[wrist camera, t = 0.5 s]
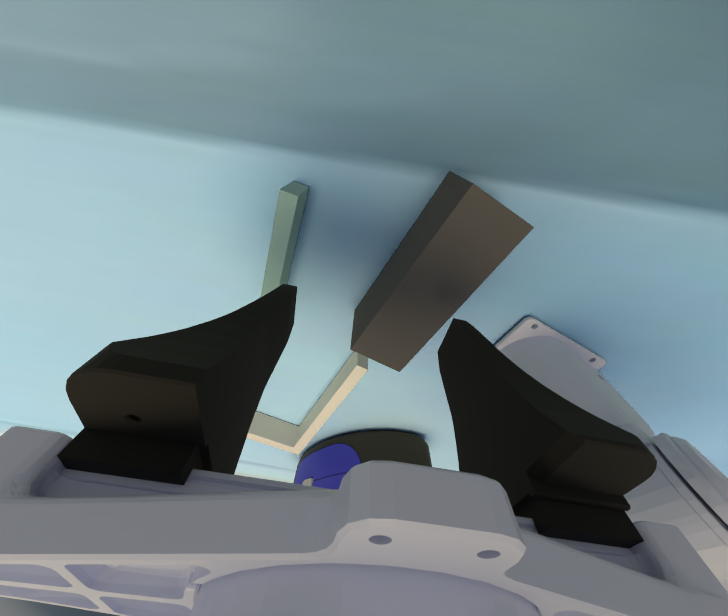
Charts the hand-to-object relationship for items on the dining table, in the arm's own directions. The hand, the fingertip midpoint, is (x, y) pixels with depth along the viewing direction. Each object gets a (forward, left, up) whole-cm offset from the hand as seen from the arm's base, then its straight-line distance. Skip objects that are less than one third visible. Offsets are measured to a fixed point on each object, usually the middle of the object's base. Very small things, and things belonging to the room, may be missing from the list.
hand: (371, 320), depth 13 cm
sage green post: (+5, +3, -8) cm, 10 cm away
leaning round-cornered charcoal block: (-11, +22, -9) cm, 27 cm away
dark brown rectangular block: (-3, -1, -9) cm, 10 cm away
